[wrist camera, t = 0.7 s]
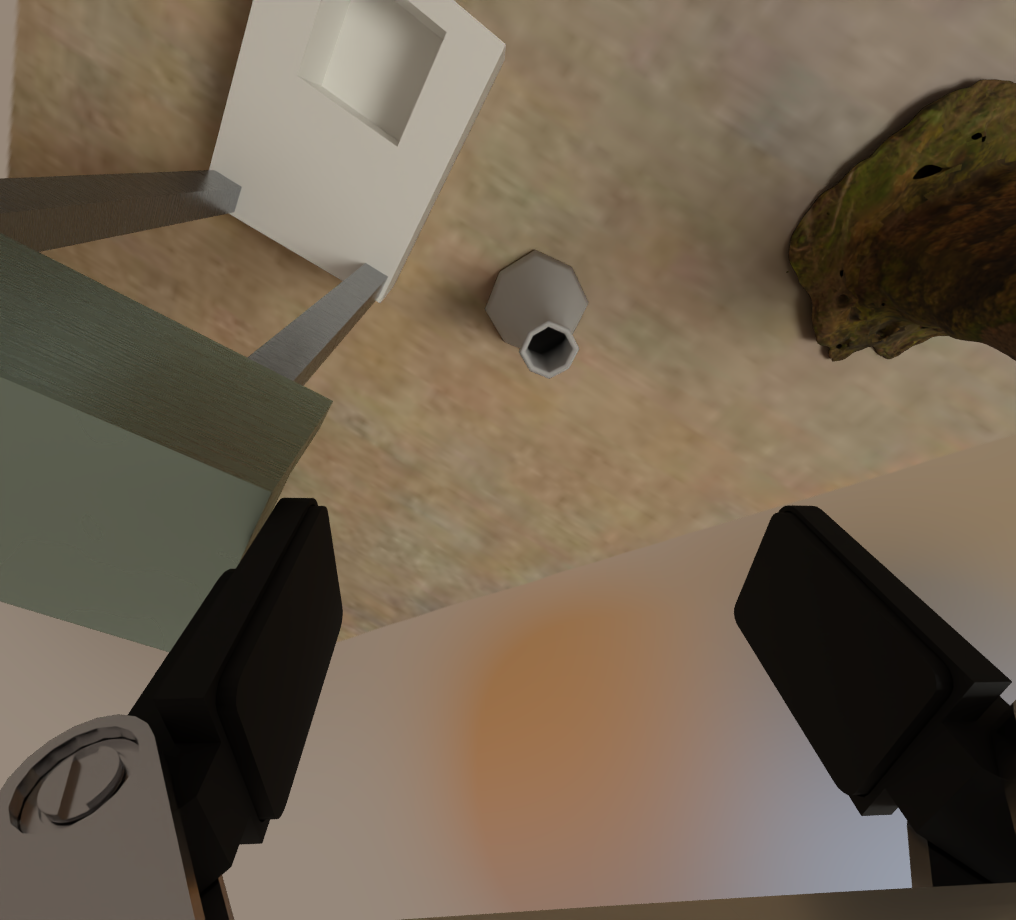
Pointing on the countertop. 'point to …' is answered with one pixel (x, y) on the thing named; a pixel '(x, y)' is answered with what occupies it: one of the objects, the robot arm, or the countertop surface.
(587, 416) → the countertop surface
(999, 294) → the tree stump
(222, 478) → the street lamp
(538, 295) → the flask
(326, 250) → the socket block
